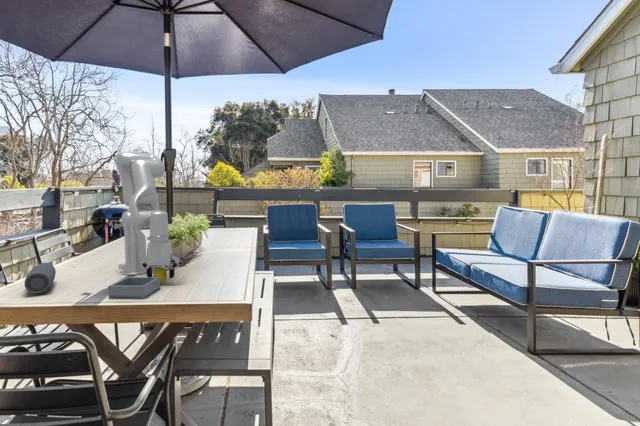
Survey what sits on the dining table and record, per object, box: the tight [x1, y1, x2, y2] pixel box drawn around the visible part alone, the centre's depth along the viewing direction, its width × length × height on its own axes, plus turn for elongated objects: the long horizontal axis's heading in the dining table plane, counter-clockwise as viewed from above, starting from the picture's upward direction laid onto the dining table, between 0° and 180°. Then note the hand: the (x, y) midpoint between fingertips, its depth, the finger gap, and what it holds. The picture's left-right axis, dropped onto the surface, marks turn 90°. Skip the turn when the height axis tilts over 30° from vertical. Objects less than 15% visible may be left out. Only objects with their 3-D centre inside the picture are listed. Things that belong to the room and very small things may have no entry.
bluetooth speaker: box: [23, 262, 57, 294], centre depth 159 cm, size 23×9×10 cm, turn 30°
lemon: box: [152, 266, 168, 286], centre depth 167 cm, size 6×6×8 cm
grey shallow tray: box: [107, 276, 161, 300], centre depth 153 cm, size 14×14×5 cm
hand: (160, 277), depth 166 cm, fingers open, 9 cm apart
